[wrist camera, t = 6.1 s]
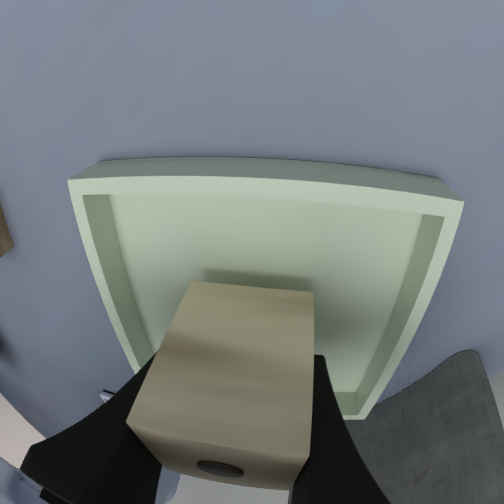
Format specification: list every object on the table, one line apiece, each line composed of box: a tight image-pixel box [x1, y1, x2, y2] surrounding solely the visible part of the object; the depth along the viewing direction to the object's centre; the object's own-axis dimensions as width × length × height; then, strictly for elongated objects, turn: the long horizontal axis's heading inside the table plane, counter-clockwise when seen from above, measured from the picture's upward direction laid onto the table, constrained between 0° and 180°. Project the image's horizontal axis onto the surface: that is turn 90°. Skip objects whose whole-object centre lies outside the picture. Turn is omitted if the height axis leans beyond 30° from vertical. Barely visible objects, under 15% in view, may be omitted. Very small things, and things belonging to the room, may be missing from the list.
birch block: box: [126, 281, 314, 490], centre depth 9 cm, size 4×4×6 cm
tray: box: [67, 157, 464, 420], centre depth 13 cm, size 13×13×2 cm
